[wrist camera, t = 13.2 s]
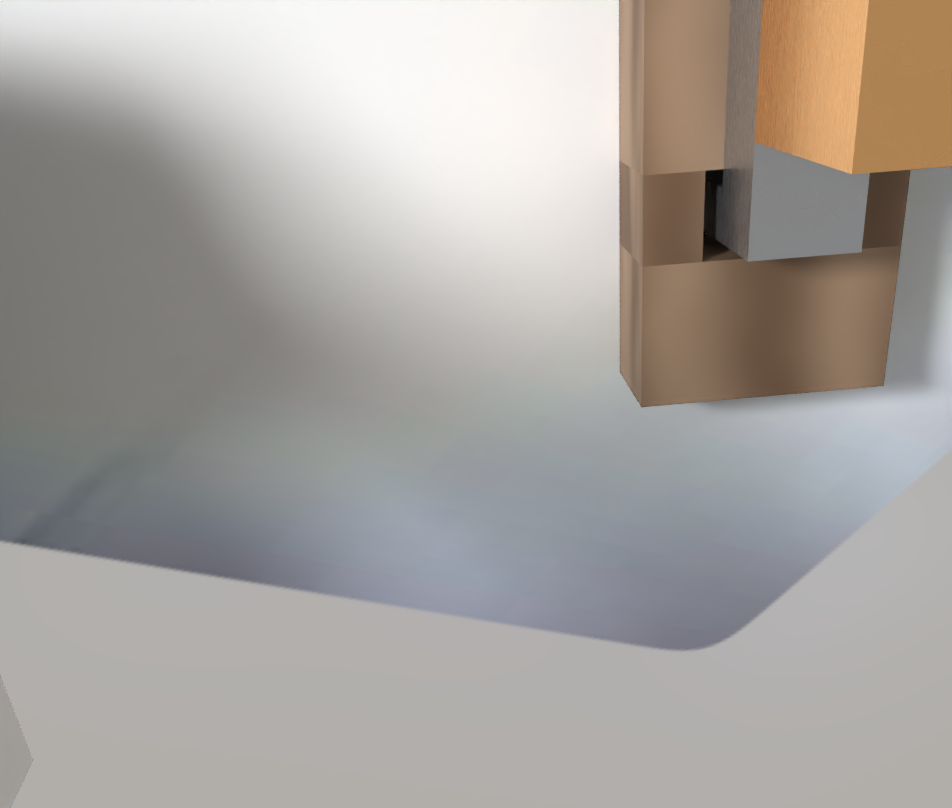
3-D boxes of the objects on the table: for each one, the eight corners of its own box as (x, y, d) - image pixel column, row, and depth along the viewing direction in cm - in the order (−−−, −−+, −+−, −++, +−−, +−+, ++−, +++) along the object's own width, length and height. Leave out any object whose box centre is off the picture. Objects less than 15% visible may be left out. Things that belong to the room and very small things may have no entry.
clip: (689, 221, 37) (837, 323, 24) (700, -139, 32) (893, -252, 19) (783, 213, 37) (980, 311, 24) (809, -146, 32) (1074, -264, 19)
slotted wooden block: (620, 371, 39) (641, 407, 36) (618, -361, 29) (647, -417, 26) (840, 352, 40) (883, 385, 36) (914, -378, 30) (985, -436, 26)
